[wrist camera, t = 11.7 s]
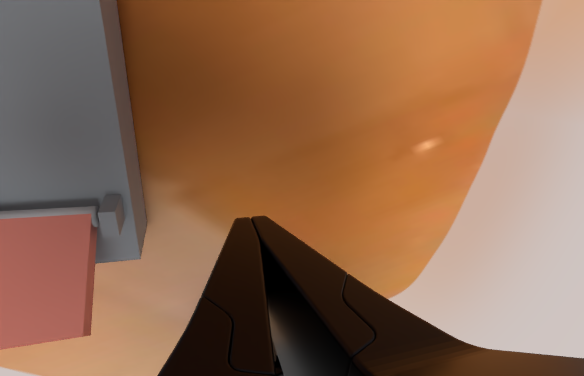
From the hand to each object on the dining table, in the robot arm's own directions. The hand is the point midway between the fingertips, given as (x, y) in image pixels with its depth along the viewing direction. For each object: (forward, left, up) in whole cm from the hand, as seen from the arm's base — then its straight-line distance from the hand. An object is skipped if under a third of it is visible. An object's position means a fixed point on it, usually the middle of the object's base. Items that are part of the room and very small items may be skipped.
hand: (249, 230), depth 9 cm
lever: (-4, +8, -7) cm, 12 cm away
